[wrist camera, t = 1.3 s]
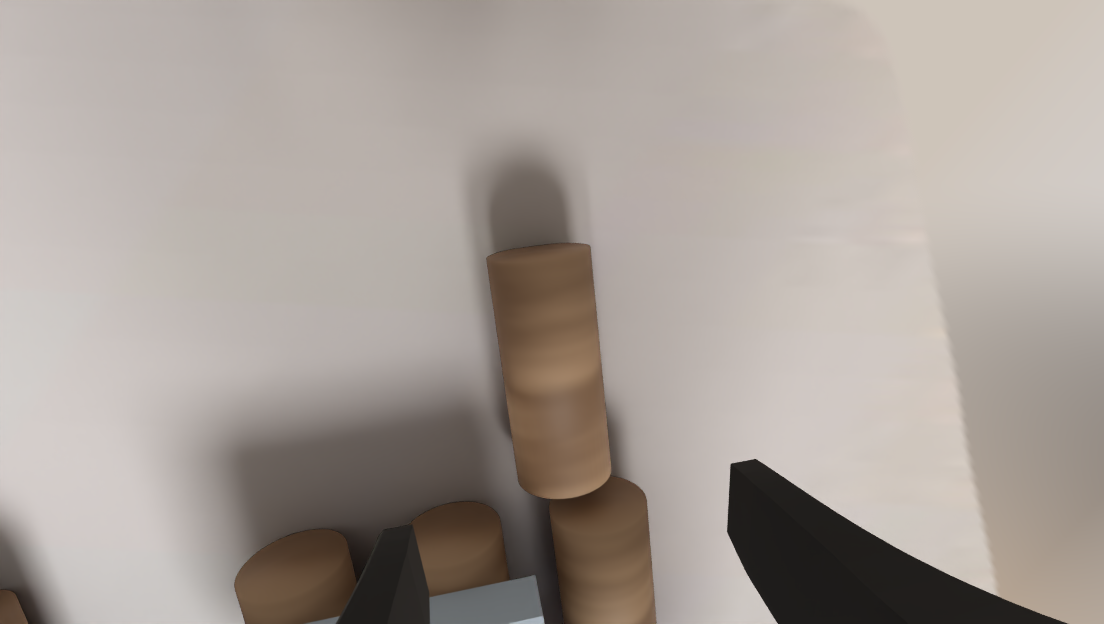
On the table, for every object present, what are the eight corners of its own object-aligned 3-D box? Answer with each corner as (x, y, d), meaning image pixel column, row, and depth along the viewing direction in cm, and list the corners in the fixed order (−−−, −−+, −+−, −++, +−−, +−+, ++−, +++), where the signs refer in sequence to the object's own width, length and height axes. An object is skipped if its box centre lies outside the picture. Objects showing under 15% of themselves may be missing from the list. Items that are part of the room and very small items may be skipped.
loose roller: (572, 439, 25) (631, 470, 22) (500, 472, 23) (553, 511, 20) (550, 241, 23) (611, 245, 20) (468, 258, 21) (522, 266, 18)
